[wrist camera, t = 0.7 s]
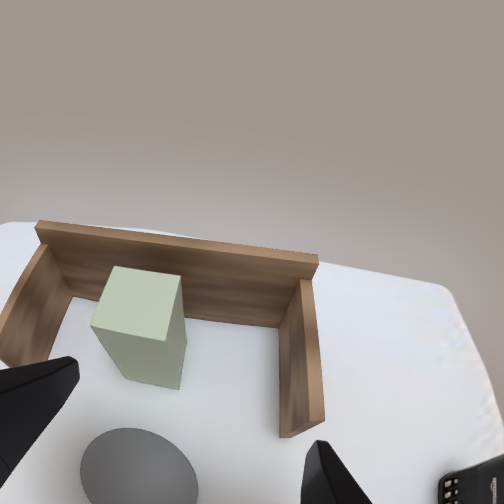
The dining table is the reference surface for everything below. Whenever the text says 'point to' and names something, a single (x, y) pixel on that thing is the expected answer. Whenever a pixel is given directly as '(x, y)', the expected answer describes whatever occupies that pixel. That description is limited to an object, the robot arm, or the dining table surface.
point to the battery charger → (475, 484)
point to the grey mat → (136, 470)
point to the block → (143, 325)
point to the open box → (193, 295)
